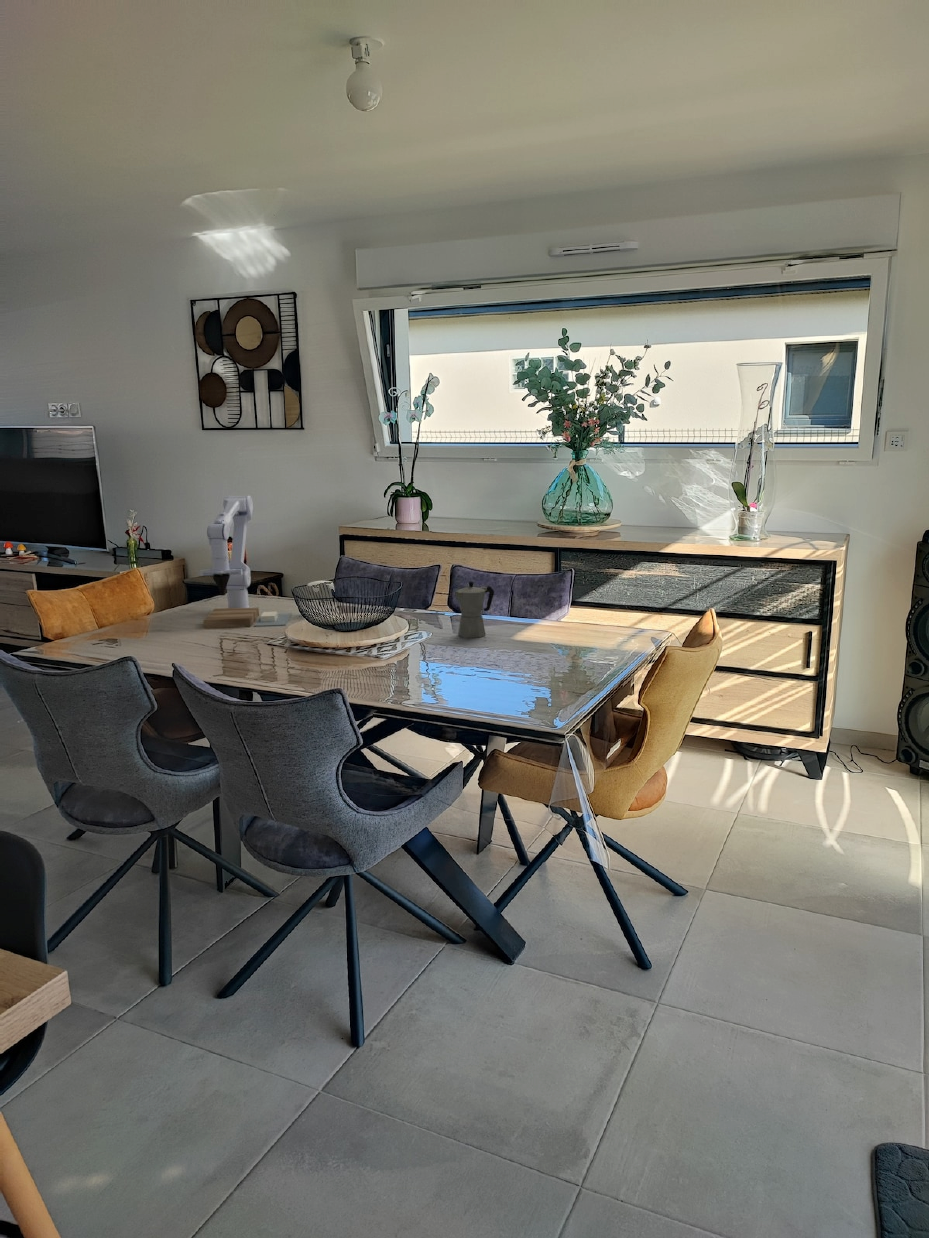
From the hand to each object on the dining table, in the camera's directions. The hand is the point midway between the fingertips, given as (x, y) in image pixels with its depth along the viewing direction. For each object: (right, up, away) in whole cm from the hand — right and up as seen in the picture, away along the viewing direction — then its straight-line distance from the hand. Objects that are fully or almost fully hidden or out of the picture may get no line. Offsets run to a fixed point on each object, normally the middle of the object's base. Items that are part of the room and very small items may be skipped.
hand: (223, 595), depth 314 cm
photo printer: (+34, -7, +11) cm, 36 cm away
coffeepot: (+90, -14, -24) cm, 94 cm away
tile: (+16, -7, +1) cm, 18 cm away
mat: (+18, -9, +1) cm, 20 cm away
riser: (+3, -10, 0) cm, 10 cm away
